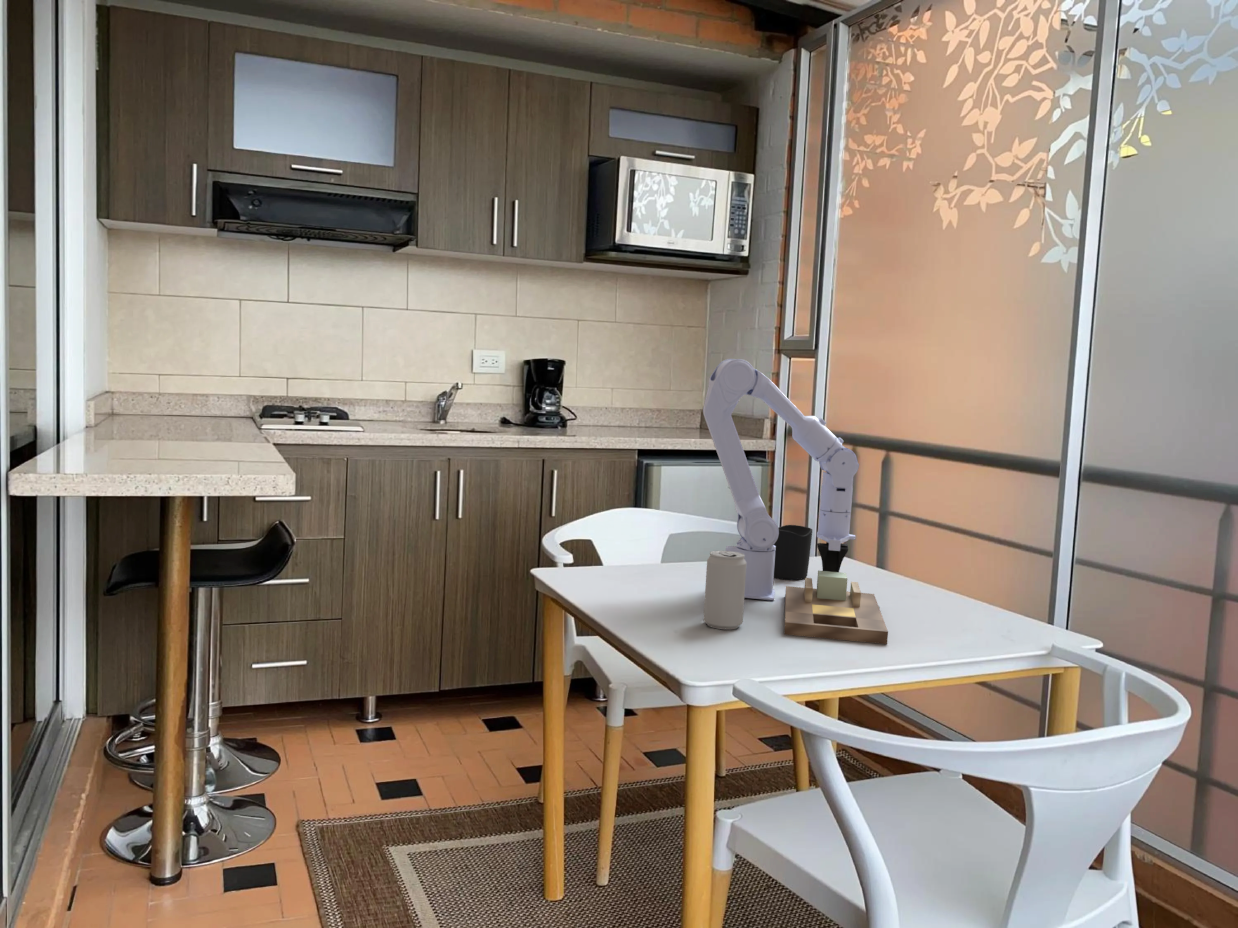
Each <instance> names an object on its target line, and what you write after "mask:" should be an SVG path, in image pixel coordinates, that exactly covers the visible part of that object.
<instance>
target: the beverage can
mask: <svg viewBox="0 0 1238 928" xmlns="http://www.w3.org/2000/svg"><path fill="white" fill-rule="evenodd" d="M744 557H745V555H744V554H742V553H739V552H733V551H726V550H713V551H709V557H708V558H707V560H706V572H705V573H706V574H705V590H704V602H703V603H704V604H703V606H704V607H703V622H705V624H707V626H708V627H710V628H714V629H718V630H724V631H725V630H735V629H738V628H739V626H742V624H743V622H744V620H743V619H744V608H745V607H744V604H745V598H744V594H745V579H746V561H745V559H744Z"/></svg>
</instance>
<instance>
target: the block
mask: <svg viewBox="0 0 1238 928" xmlns="http://www.w3.org/2000/svg"><path fill="white" fill-rule="evenodd" d="M816 580H817V581H816V589H817V591H816V593H817V598H822V599H833V600H845V601H846V592H847V588H848V575H847V573H846V572H840V571H839V572H829V571H823V570H818V571H817V579H816Z"/></svg>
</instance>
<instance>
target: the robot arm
mask: <svg viewBox="0 0 1238 928" xmlns="http://www.w3.org/2000/svg"><path fill="white" fill-rule="evenodd" d="M708 380H709V381H708V386H707V387H708V388H707V392H706V396H705V400H704V404H703V408H702V413H703V416H704V420H705V423H706V425H707V428H708V431H709V434H710V436H711V440H712V442H713V445H714V448H715V451H716V453H717V456H718V459H719V463H720V464H721V468H722V471H723V474H724V477H725V479H726V482H727V484H728V487H729V490H730V493H731V496H732V499H733V502H734V508H735V509H734V510H735V512H736V515H737V520H736V529H737V533H738V534H739V535H740V538H739V539H738V541H736V545H733V546H732V545H726V547H725V551H733V552H739V553H742V554H744V555H745V557H744V559H745V561H746V579H745V594H744V599H755V600H763V601H764V600H765V601H774V600H775V594H776V590H775V589H774V579H775V578H774V564H775V549H776V546H774V544H775V542H776V541H777V539H778V535H779V529H778V528H779V526H778V524H777V522H776V521H775V520H774V519H773V518H772V517H771V516H770V515H769V512H768V510H767V507H766V506H765V503H764V502H763V500H762V498H761V496H760V493H759V490H758V487H757V484H756V482H755V479H754V476H753V473H752V470H751V468H750V464H749V462H748V459H747V457H746V453H745V451H744V448H743V445H742V442H741V439H740V436H739V433H738V431H737V428H736V425H735V422H734V419H733V417H732V414H733V412H734V411H735V408H736V407H737V406H738V403H739V402H740V400H741V399H742V398H743V397H744V396H745V395H746V396H750V397H753V398H756V399H759V400H761V401H762V402H763V403H765V404H766V406H768V408H770V409H771V410H772V411H773V412H774V413H775V414H776V415H778V416H779V418H780V419H782V420H783V421H784V422H785V423H786V424H788V426H790V427H791V432H792V433H791V434H792V436H791V437H792V439H793V440H794V441H795V442H796V443H797V444H798V445H799V446H800V447H801V448H802V449H803V450H804V451H805V452H806V453H808V455H809V456H810V457H812V459H813V460H814V461H815V462H818V465H819V467H820V469H821V470H822V481H821V483H822V484H821V485H820V486H821V487H820V500H819V501H820V503H819V512H818V514H819V515H818V528H817V532H816V538H818V539H820V540H822V541H824V542H826V543H824V542H818V543H816V548H817V550H818V552H819V555H820V558H821V565H822V566H821V567H822V568H821V569H822V571H829V572H840V570H841V566H842V562H843V560H844V558H845V557H846V555H847V553H848V552H849V547H848V543H847V544H846V543H845V542H847V541H849V540H851V541H854V540H856V534H850V531H851V530H850V528H851V517H852V515H851V514H852V504H853V503H852V502H853V491H854V490H853V489H854V487H853V486H854V484H853V483H854V476H855V475H856V474H857V472H858V471H859V468H860V463H859V462H858V458H857V455H856V453H855V452H854V451H853V450H852V449H850V448H848V447H845V446H844V445H843V443H844V442H845V441H844V440H843V438H841V437H837V436H836V435H835V434H834V433H833V432H832V431H831V430H830V429H828V427H827V426H825V425H826V424H827V422H826V421H825V420H824V419H823V418H821V417H820V418H818V417H816V415H804V414H803V413H802V411H801V410H800V409H799V408H798V407H797V405H795V404H794V403H793V402H792V401H791V400H790V399H789V398H788V397H787V396H786V395H785V394H784V393H783V391H782V390H780V389H779V387H778V386H777V385H776V384H775V383H774V382H773V381H772V380H771V379H770V378H769V377H767V376H766V375H765V374H764V373H762V372H761V371H760V370H758V369H756V368H754V366H753V365H752V364H751V363H750V362H749V361H747V360H746V359H742V358H736V359H735V358H726V359H724V360H722V361H720V362H719V364H718V365H717V366H716V367H715V368H714V370H713V372H712V373H711V375H710V376H709V379H708Z"/></svg>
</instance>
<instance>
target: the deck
mask: <svg viewBox="0 0 1238 928" xmlns="http://www.w3.org/2000/svg"><path fill="white" fill-rule="evenodd" d="M859 585H860V584H859V582H858V581H850V589H849V590H848V591H847V592H846V601H845V600H833V599H822V598H817V593H816V591H817V588H814V586H813V578H811V577H806V578H805V579H804V586H803V587H800V586H799V587H798V586H789V585H786V586H785V596H784V597H785V598H784V599H785V601H784V631H783V632H784V635H786V636H787V635H788V636H796V637H797V636H798V637H808V638H818V639H827V640H828V639H831V640H838V641H847V642H848V641H850V642H860V643H872V644H880V645H888V638H889V637H888V636H889V631H888V628H887V627H888V626H887V625H886V622H885V620H884V617H883V615H882V612H881V611H882V610H881V609H880V607H879V604H878V600H877V598H876V595H875V593H866V592H861V588H860V586H859Z"/></svg>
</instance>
